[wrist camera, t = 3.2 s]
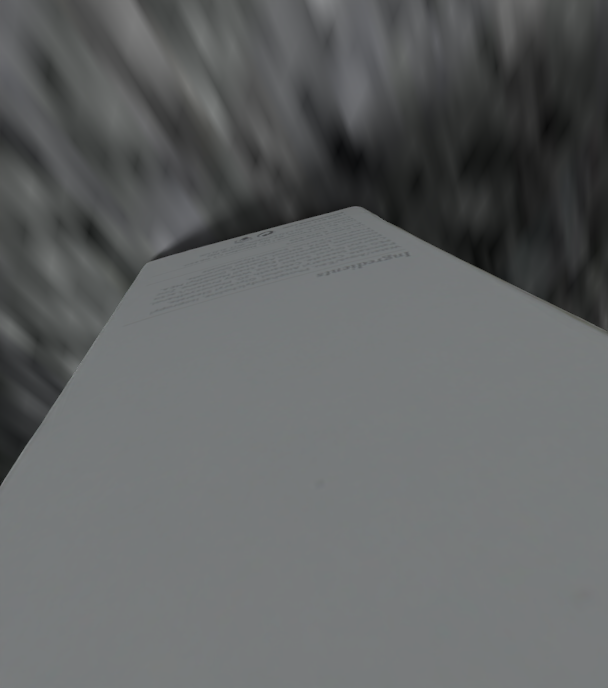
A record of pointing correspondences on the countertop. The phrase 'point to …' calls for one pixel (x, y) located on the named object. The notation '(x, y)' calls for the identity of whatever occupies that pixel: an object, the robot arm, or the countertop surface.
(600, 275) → the countertop surface
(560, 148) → the countertop surface
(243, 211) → the countertop surface
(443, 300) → the skincare box
